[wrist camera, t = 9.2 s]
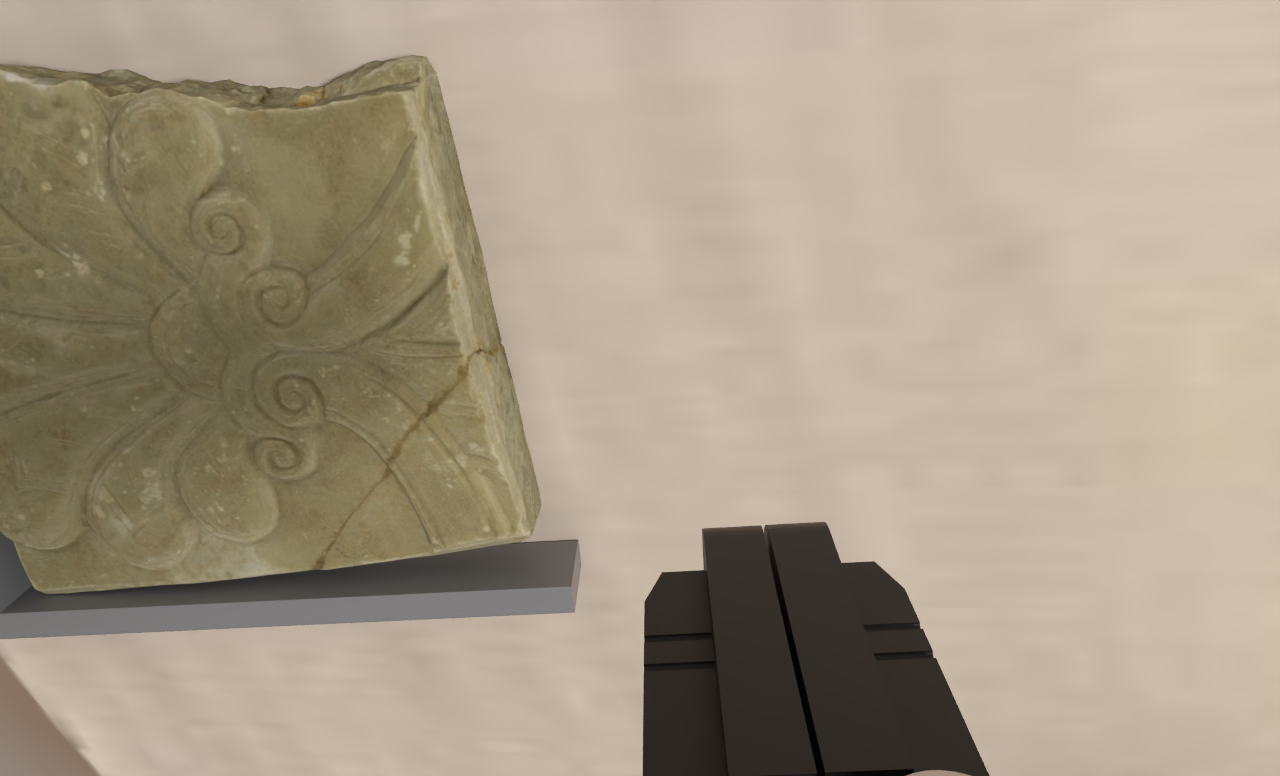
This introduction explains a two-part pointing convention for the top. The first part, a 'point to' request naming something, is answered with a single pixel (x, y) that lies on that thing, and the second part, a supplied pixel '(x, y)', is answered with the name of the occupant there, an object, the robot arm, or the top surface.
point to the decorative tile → (245, 331)
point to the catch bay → (306, 594)
